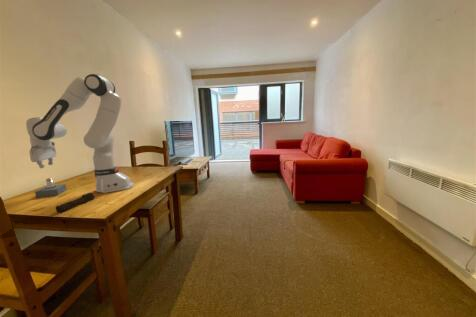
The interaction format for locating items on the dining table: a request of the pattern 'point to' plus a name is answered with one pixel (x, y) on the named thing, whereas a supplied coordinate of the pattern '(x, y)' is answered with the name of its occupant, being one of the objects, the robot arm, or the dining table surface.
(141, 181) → the dining table surface
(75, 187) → the dining table surface
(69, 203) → the hand tool
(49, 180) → the steel pin
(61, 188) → the hole block
